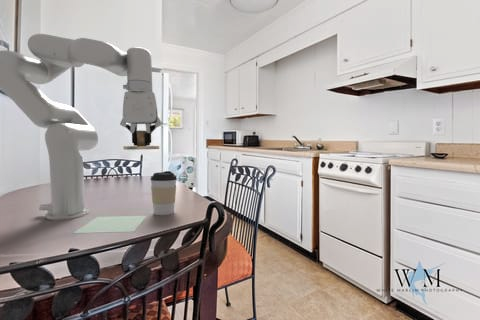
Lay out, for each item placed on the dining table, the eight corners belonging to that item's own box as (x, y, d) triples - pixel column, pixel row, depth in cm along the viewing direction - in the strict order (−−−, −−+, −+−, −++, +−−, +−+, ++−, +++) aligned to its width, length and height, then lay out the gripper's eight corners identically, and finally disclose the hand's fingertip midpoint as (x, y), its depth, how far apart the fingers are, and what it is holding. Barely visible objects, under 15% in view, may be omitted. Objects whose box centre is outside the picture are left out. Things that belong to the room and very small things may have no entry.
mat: (72, 234, 71) (72, 233, 71) (97, 217, 87) (97, 216, 87) (133, 232, 73) (133, 231, 73) (146, 216, 89) (146, 215, 89)
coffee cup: (169, 217, 88) (169, 173, 87) (145, 216, 90) (145, 173, 89) (180, 211, 97) (180, 171, 96) (158, 209, 98) (158, 170, 98)
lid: (118, 149, 79) (117, 129, 78) (130, 149, 90) (129, 131, 89) (155, 149, 80) (154, 129, 79) (162, 148, 91) (162, 131, 90)
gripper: (109, 85, 79) (111, 145, 81) (163, 86, 81) (164, 145, 82) (118, 90, 87) (120, 145, 88) (168, 91, 88) (169, 145, 89)
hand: (141, 144), depth 85 cm, fingers closed on lid, 3 cm apart
